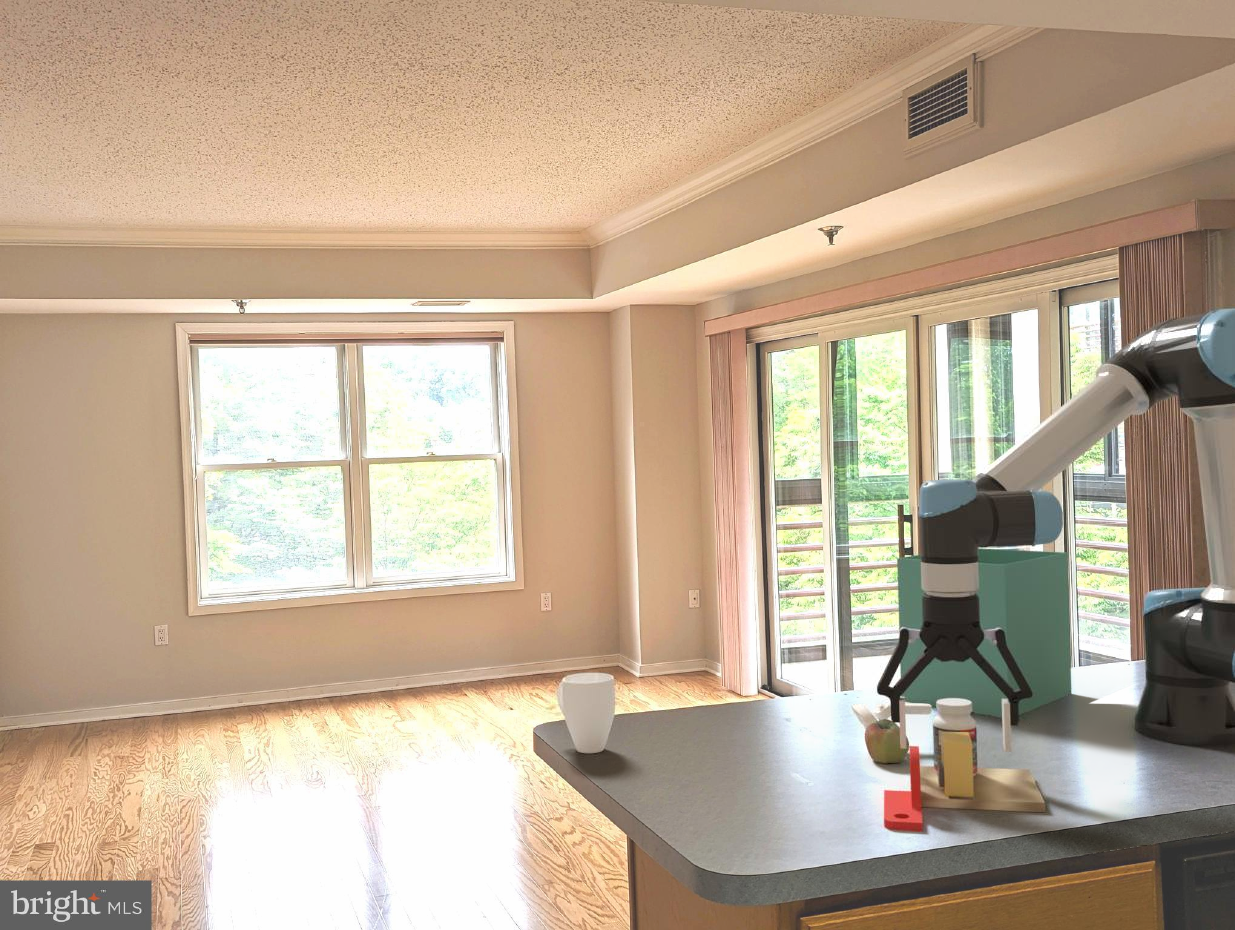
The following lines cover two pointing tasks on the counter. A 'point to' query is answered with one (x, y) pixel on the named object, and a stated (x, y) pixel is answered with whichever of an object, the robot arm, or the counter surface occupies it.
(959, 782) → the block
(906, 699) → the box
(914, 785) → the bracket
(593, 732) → the mug
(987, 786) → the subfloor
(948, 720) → the pill bottle
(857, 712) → the hook
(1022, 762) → the counter surface
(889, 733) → the apple
